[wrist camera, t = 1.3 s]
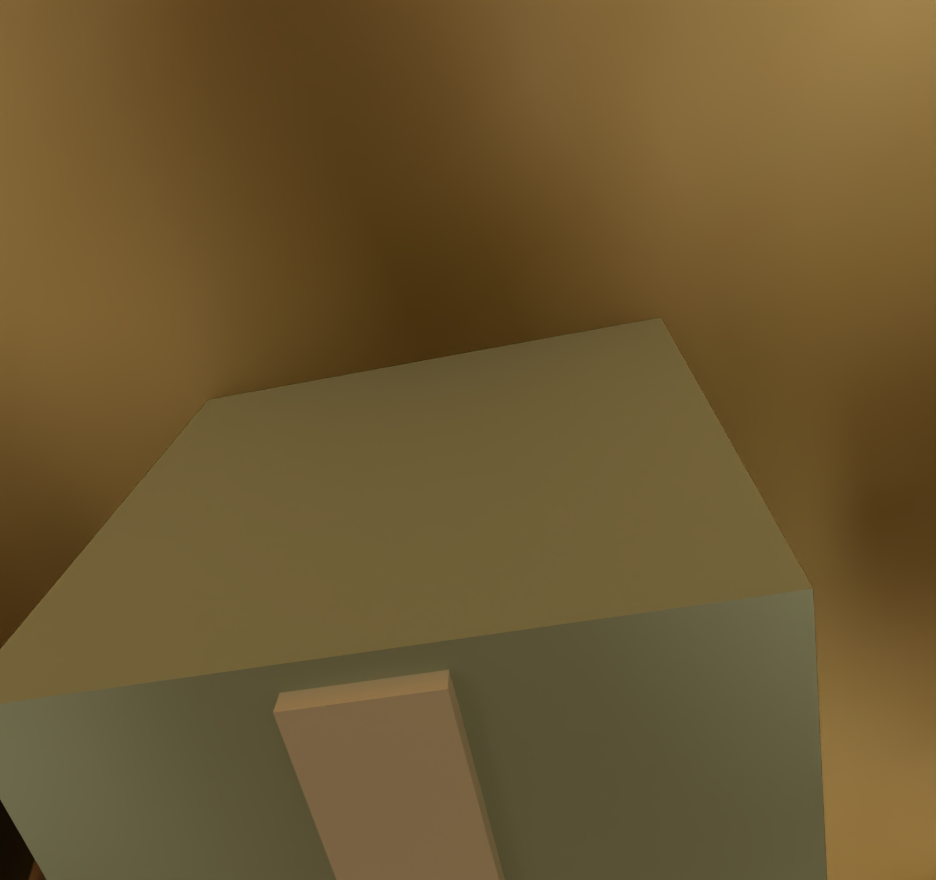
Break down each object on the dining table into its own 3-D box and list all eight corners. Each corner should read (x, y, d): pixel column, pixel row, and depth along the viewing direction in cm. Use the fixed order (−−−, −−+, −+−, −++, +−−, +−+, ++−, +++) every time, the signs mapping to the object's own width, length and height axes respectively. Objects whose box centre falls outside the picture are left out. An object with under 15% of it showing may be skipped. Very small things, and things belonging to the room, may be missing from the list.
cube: (702, 685, 11) (847, 1156, 6) (329, 734, 12) (211, 1197, 7) (659, 316, 9) (823, 605, 4) (210, 397, 10) (-68, 731, 5)
